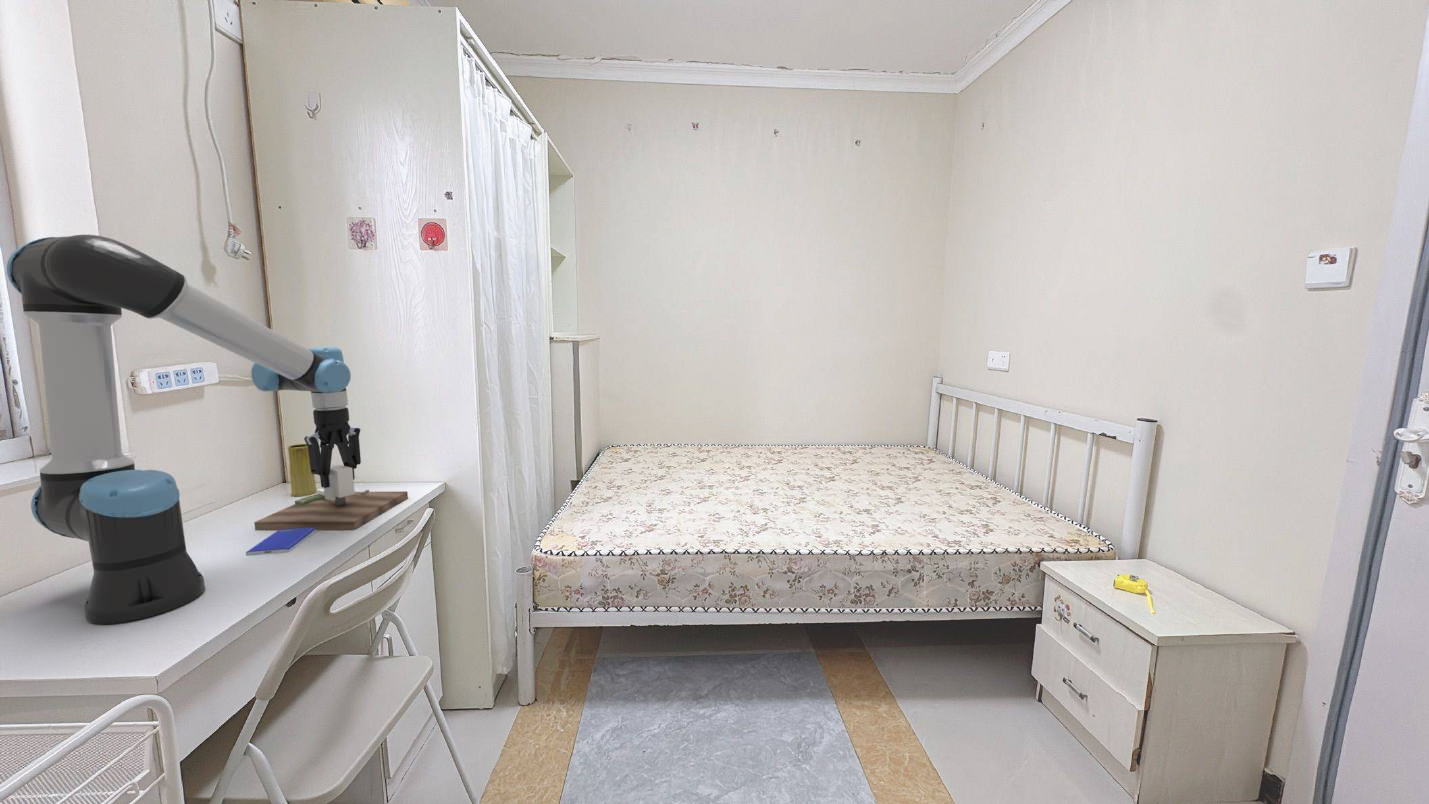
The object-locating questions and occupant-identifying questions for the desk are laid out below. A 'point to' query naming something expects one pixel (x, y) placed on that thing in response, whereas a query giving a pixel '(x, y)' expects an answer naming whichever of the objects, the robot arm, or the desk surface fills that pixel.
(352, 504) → the brown flat square board
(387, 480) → the desk surface
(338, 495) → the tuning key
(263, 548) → the hard drive
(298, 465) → the vase
